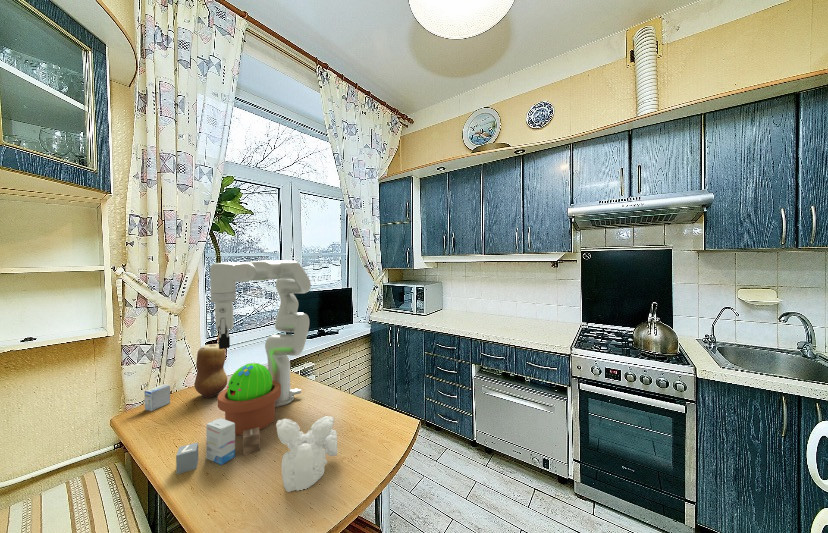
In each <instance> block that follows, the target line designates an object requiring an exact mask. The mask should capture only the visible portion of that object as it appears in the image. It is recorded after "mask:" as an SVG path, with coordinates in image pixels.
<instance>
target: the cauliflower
mask: <svg viewBox="0 0 828 533" xmlns="http://www.w3.org/2000/svg"><path fill="white" fill-rule="evenodd" d="M334 418H335V417H334V416H328V415H326V416H322V417H319V419H316V421H315V422H314V423H313V424H312V425H311V426H310V429H309V430H307V433H304V432H303V431H302V430H301V431H300V426H299V424H298V423H297V422H296V421H294V420H292V419H290V418H282V419H278V420H277V421H276V423H275V427H276V434H277V437H278V439H279V440H280V442H281V444H282V445H286V446H287V449H289V451H285V452H284V454H283V456H282V459H281V465H280V466H281V467H280V468H281V478H282V483H283V487H284V488H283V489H285V491H286V492H287V493H291V491H292V492H294V491H295V490H296V491H297V492H300V491H299V490H301V491H304V490H303V489H305V490H307V488H308V489H309V488H311V487H312V486H314V484H316V483H317V482H318V481H319V480H321V478H322V477H323V475H324V473H325V465H327V463H328V459H326V457H327V456H326V455H328V456H329V457H334V456H337V455H338V434H337V430H335V429H333V426H334V422H335V419H334Z"/></svg>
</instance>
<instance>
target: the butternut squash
mask: <svg viewBox="0 0 828 533" xmlns="http://www.w3.org/2000/svg"><path fill="white" fill-rule="evenodd" d="M225 362H226V348H225V349H219V343H212V344H205V345H203V346H201V347H200V348H199V349H198V350H197V354H196V363H195V367H196V376H195V380H194V389H195V391H196V392H197V393H198V394H199V395H201V396H202V397H204V398H206V399H210V398H212V397H213V398H214V396H216V395H219V394H220V393H221V392H222V391H224V390H225V388H227V386H228V375H227V373H226V371H225V369H224V366H225Z"/></svg>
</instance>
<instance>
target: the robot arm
mask: <svg viewBox="0 0 828 533" xmlns="http://www.w3.org/2000/svg"><path fill="white" fill-rule="evenodd" d="M209 269H210V270H209V272H210V303H214V315H215V317H214V319H215V329H216V331H218V332H219V333H218V336H219V337H218V344H219V349H225V350H226V349H229V348H230V346H231V343H230V342H231V338H230V337H231V336H230V330H232V329H234V326H235V324H234V305H233V302H236V301H237V300H236V299H237V298H236V295H237V294H236V291H237V289H236V286H237V284H236V283H247V282H250V281H253V282H254V281H257V282H258V281H261V282H262V281H271V280H276V281H275V288H276V290H277V293H278V296H279V298H280V300H279V301H280V305H279V308H278V311H277V316H276V319H275V323H274V328H275V330H276V331H278V332H280V333H276V334H271V335H270V336H268V337H267V338H266V340H265V343H264V344H265V345H264V347H265V348H264V349H265V353H266V358H267V369H268V371H270V374H271V377H272V380H273V381H276V382H279V383H280V385H281V395H280V397H279V398H278V399H277V400H276V401H275V408H276V407H283V406H285V405H288V404H290V403H292V402H293V400H294V399H295V395H300V394H301V393H302V389H298V388H294V389H292V388H291V361H290V359H289V356H292V357H293V356H294V357H296V356H300V355H301V354H303V351H304V349H305V345H306V342H307V337H308V334H309V328H310V318H309V315H308V314H307V313H304V312H298V309H299V306H300V305H299V300H298V299H297V297H296V294H306V293H308V292H309V291H310V289H311V286H312V284H311V283H312V282H311V279H310V278H309V276H308V275H307V273H306V271H305V269H304V268H303V267H302V265H301V264H300V263H299V262H297V261H296V260H258V261H257V260H256V261H255V260H254V261H239V262H237V261H235V262H233V261H232V262H230V261H228V262H227V261H225V262H215V263H212V264H211V265H210V268H209ZM281 332H283V333H281ZM285 333H287V334H285ZM288 333H293V334H288Z"/></svg>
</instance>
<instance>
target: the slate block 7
mask: <svg viewBox="0 0 828 533" xmlns="http://www.w3.org/2000/svg"><path fill="white" fill-rule="evenodd" d="M199 459H200V458H199V441H198V442H197V441H196V442H192V443H189V444H185V445H182V446H179V447H178V449H177V452H176V454H175V464H176V465H175V466H176V467H175V468H176V475H180V474H183V473H186V472H190V471H193V470H196V469H197V467H198V464H199Z"/></svg>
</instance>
